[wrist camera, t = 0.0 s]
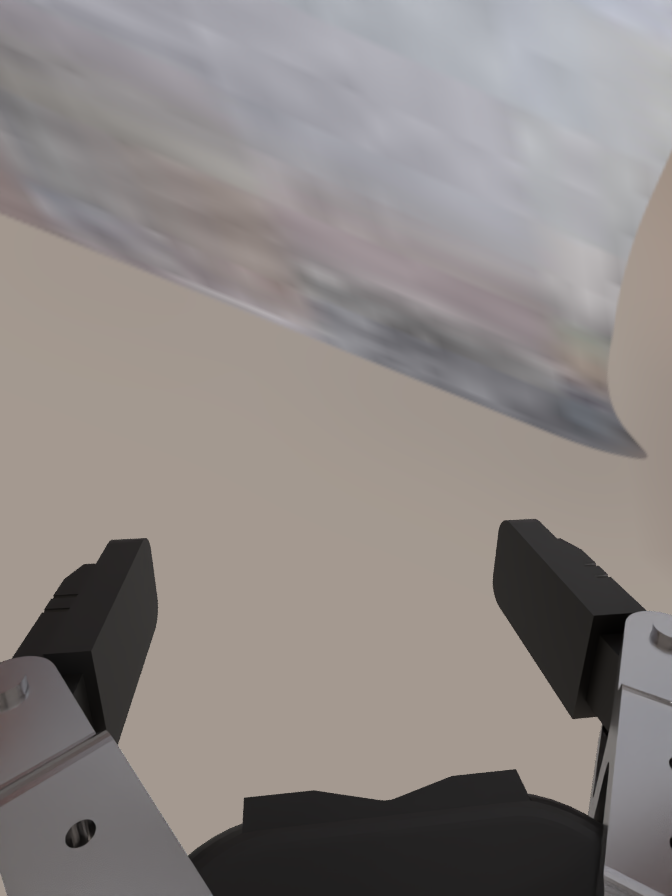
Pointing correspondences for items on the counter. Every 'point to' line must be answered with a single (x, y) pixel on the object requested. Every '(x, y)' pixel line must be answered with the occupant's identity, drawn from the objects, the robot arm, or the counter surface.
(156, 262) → the counter surface
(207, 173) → the counter surface
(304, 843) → the robot arm
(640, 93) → the counter surface
